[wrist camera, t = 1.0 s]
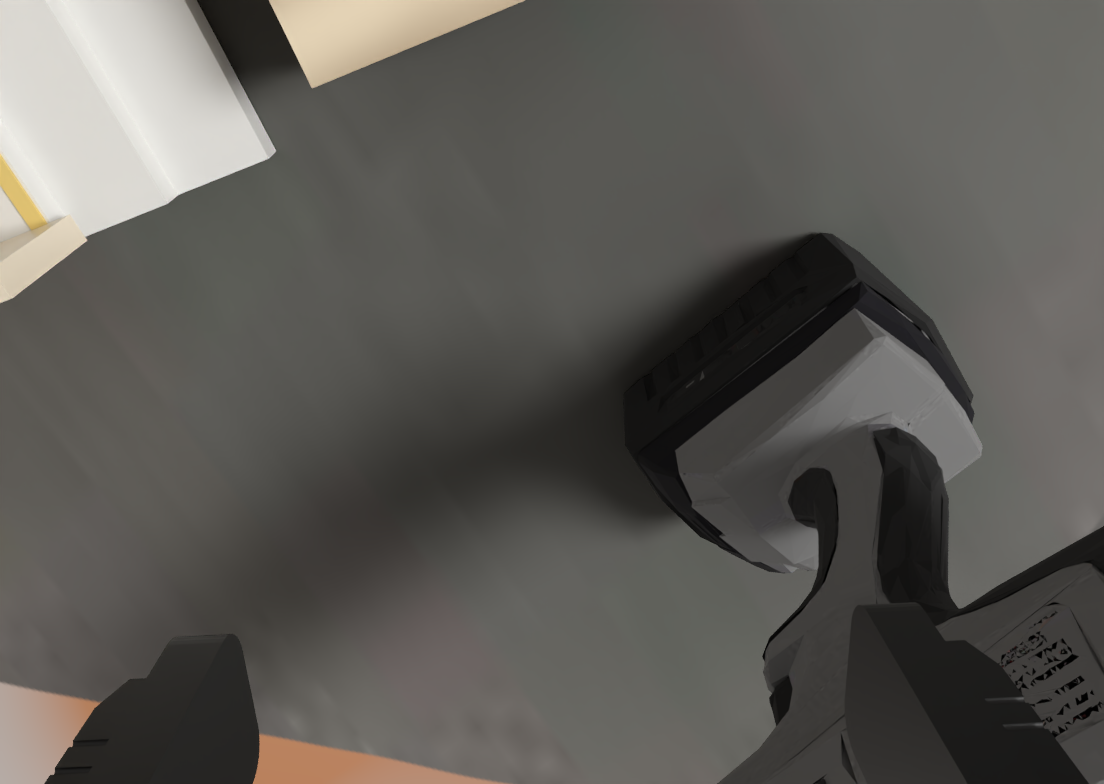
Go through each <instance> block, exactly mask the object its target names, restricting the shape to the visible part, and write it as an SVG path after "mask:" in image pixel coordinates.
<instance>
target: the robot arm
mask: <svg viewBox="0 0 1104 784" xmlns="http://www.w3.org/2000/svg"><path fill="white" fill-rule="evenodd" d="M844 705H845V720H846V727H847V732H848V737H849V741H850V744H851V747H852V750H853V753H854V755H855V758H856V760H857V762H858V764H859V766H860V769H861V771H862V773H863V775H864V778H865V780H866V782H867V784H1089V783H1088V781H1087V780H1086V779H1085V777H1084V776H1083V775H1082V773H1081V772H1080V771H1079V769H1078V768H1077V767H1076V765H1075V764H1074V763H1073V761H1072V760H1071V759H1070V757H1069V756H1068V755H1067V753H1066V752H1065V751H1064V749H1063V748H1062V747H1061V745H1060V744H1059V743H1058V741H1057V740H1056V739H1055V737H1054V736H1053V735H1052V733H1051V732H1050V731H1049V729H1044V726H1043V721H1042V720H1041V719H1040V717H1039V716H1038V715H1037V713H1036V712H1035V711H1034V709H1033V708H1032V707H1031V705H1030V704H1029V703H1025V701H1024V696H1023V695H1022V693H1021V692H1020V691H1019V689H1018V688H1017V686H1016V685H1015V684H1014V682H1013V681H1012V680H1011V678H1010V677H1009V676H1008V674H1007V673H1006V672H1005V670H1004V669H1003V668H1002V666H1001V665H999V664H998V663H997V662H995V661H994V660H992V659H991V658H989V657H988V656H987V655H985V654H984V653H982V652H981V651H980V650H978V649H977V648H975V647H974V646H973V645H971V644H970V643H968V642H967V641H965V640H955V641H945V640H944V638H943V637H942V635H941V634H940V633H939V631H938V630H937V628H936V627H935V625H934V624H933V622H932V621H931V619H930V618H929V616H928V615H927V614H926V612H925V611H924V609H923V608H922V607H921V606H920V605H919V604H918V603H916V602H909V603H889V604H869V605H857V606H856V607H855V609H854V611H853V614H852V620H851V631H850V642H849V654H848V666H847V677H846V689H845V703H844ZM258 758H259V729H258V723H257V719H256V714H255V709H254V704H253V699H252V694H251V690H250V685H249V680H248V675H247V670H246V666H245V661H244V656H243V651H242V647H241V644H240V641H239V639H238V638H237V637H236V636H235V635H233V634H227V635H206V636H186V637H175V638H173V639H172V640H171V641H170V642H169V643H168V645H167V646H166V648H165V649H164V651H163V653H162V654H161V656H160V657H159V659H158V661H157V662H156V664H155V666H154V667H153V669H152V670H151V672H150V674H149V675H148V677H147V678H145V679H130V680H128V681H127V682H126V683H125V684H124V685H122V686H121V687H120V688H119V689H117V690H116V691H115V692H114V693H113V694H111V695H110V696H109V697H108V698H107V699H105V700H104V701H103V702H102V703H100V704H99V705H98V706H97V707H96V708H95V709H94V710H93V712H92V713H91V715H90V716H89V718H88V719H87V721H86V722H85V724H84V725H83V727H82V728H81V730H80V731H79V733H78V734H77V736H76V737H75V739H74V740H73V747H69V748H68V749H67V751H66V752H65V754H64V755H63V757H62V758H61V760H60V761H59V763H58V764H57V766H56V767H55V774H54V775H50V776H49V778H48V779H47V781H46V782H45V784H253V781H254V778H255V774H256V770H257V765H258Z"/></svg>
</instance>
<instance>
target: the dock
mask: <svg viewBox="0 0 1104 784" xmlns="http://www.w3.org/2000/svg"><path fill="white" fill-rule="evenodd" d="M275 152H276V150H275V148H274V146H273V144H272V142H271V140H270V138H269V136H268V135H267V133H266V131H265V129H264V127H263V125H262V123H261V121H260V119H259V118H258V116H257V114H256V112H255V110H254V108H253V106H252V104H251V102H250V100H249V99H248V97H247V95H246V93H245V91H244V89H243V87H242V85H241V83H240V81H239V80H238V78H237V76H236V74H235V72H234V70H233V68H232V66H231V64H230V63H229V61H228V59H227V57H226V55H225V53H224V51H223V49H222V47H221V45H220V44H219V42H218V40H217V38H216V36H215V34H214V32H213V30H212V28H211V26H210V25H209V23H208V21H207V19H206V17H205V15H204V13H203V11H202V9H201V8H200V6H199V4H198V2H197V0H0V303H2V302H4V301H7V300H9V299H12V298H13V297H15V296H16V295H17V294H19V293H20V292H21V291H22V290H24V289H25V288H26V287H28V286H29V285H30V284H32V283H33V282H34V281H35V280H37V279H38V278H39V277H41V276H42V275H43V274H44V273H46V272H47V271H48V270H50V269H51V268H52V267H54V266H55V265H56V264H57V263H59V262H60V261H61V260H63V259H64V258H65V257H67V256H68V255H69V254H70V253H72V252H73V251H74V250H76V249H77V248H78V247H79V246H81V245H82V244H83V243H85V242H86V241H87V239H86V238H85V237H86V236H88V235H91V234H93V233H96V232H98V231H101V230H103V229H106V228H108V227H111V226H113V225H116V224H118V223H121V222H123V221H126V220H128V219H131V218H133V217H136V216H138V215H141V214H143V213H146V212H148V211H151V210H153V209H156V208H158V207H161V206H163V205H166V204H168V203H169V202H170V201H172V200H173V199H174V198H175V197H176V196H177V195H179V194H182V193H184V192H187V191H189V190H192V189H194V188H197V187H199V186H202V185H204V184H207V183H209V182H212V181H214V180H217V179H219V178H222V177H224V176H227V175H229V174H232V173H234V172H237V171H239V170H242V169H244V168H247V167H249V166H252V165H254V164H256V163H259V162H261V161H264V160H266V159H269V158H270V157H271V156H272V155H273V154H274V153H275Z"/></svg>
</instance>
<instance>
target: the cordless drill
mask: <svg viewBox="0 0 1104 784" xmlns="http://www.w3.org/2000/svg"><path fill="white" fill-rule="evenodd" d="M972 398H973V394H972V392H971V390H970V388H969V387H968V385H967V383H966V381H965V379H964V377H963V375H962V374H961V372H960V370H959V368H958V366H957V364H956V362H955V361H954V359H953V357H952V355H951V353H950V351H949V350H948V348H947V346H946V344H945V342H944V340H943V338H942V337H941V335H940V333H939V331H938V329H937V327H936V325H935V324H934V322H933V320H932V319H931V318H930V317H929V316H928V315H927V314H926V313H924V312H923V311H922V310H921V309H920V308H919V307H918V306H917V305H916V304H915V303H914V302H913V301H912V300H910V299H909V298H908V297H907V296H906V295H905V294H904V293H903V292H902V291H901V290H900V289H899V288H897V287H896V286H895V285H894V284H893V283H892V282H891V281H890V280H889V279H888V278H887V277H886V276H884V275H883V274H882V273H881V272H880V271H879V270H878V269H877V268H876V267H875V266H874V265H873V264H871V263H870V262H869V261H868V260H867V259H866V258H865V257H864V256H863V255H862V254H861V253H860V252H858V251H857V250H855V249H854V248H852V247H851V246H849V245H848V244H846V243H845V242H843V241H842V240H840V239H839V238H837V237H836V236H834V235H833V234H827V233H820V234H819V235H817V236H816V237H815V238H814V239H812V240H811V241H810V242H808V243H807V244H806V245H804V246H803V247H802V248H800V249H799V250H798V251H797V252H796V253H795V255H794V257H793V258H791V259H788V260H786V261H784V262H783V263H782V264H781V265H779V266H778V267H777V268H776V269H774V270H773V271H772V272H771V273H770V275H769V276H768V278H767V279H765V280H762V281H760V282H759V283H758V284H757V285H756V286H754V287H753V288H752V289H751V290H750V291H749V292H748V293H746V294H745V295H744V296H743V297H742V298H740V299H739V300H738V301H737V302H736V303H734V304H733V305H732V306H731V307H730V308H729V309H728V310H726V311H725V312H724V313H723V314H722V315H720V316H719V317H717V318H716V319H714V320H712V321H711V322H710V323H709V324H708V325H707V326H706V327H705V328H704V329H703V330H702V331H701V332H700V333H699V334H697V335H696V336H694V337H693V338H691V339H690V340H688V341H687V342H686V343H685V344H684V345H683V346H682V347H681V348H680V349H678V350H677V351H676V352H675V353H674V354H672V355H671V356H669V357H668V358H666V359H665V360H664V361H663V362H661V363H660V364H659V365H658V366H656V367H655V368H654V369H653V371H652V373H651V374H650V375H648V376H645V377H643V378H642V379H641V380H639V381H638V382H637V383H636V384H635V385H634V386H632V387H631V388H630V389H629V390H628V391H627V392H625V394H624V402H623V404H624V425H625V446H626V447H627V449H628V450H629V452H630V453H631V455H632V457H633V458H634V460H635V461H636V463H637V464H638V466H639V467H640V469H641V470H642V472H643V474H644V475H645V477H646V478H647V480H648V481H649V483H650V484H651V486H652V487H653V489H654V491H655V492H656V494H657V495H658V496H659V497H660V498H661V499H662V501H664V502H665V503H666V504H667V505H668V506H669V507H670V508H671V509H672V510H673V511H674V512H675V513H676V514H677V515H678V516H679V517H680V518H681V519H682V520H683V521H684V522H685V523H686V524H687V525H688V526H689V527H691V528H692V529H693V530H694V531H695V532H696V533H697V534H698V535H699V536H700V537H702V538H704V539H706V540H708V541H710V542H712V543H714V544H716V545H718V546H719V547H720V548H722V549H723V550H725V551H727V552H729V553H731V554H733V555H735V556H737V557H739V558H741V559H743V560H745V561H747V562H749V563H751V564H753V565H755V566H757V567H759V568H762V569H764V570H767V571H769V572H778V573H792V572H794V571H795V570H796V569H798V568H800V569H804V570H807V571H810V570H816V569H818V572H817V577H816V580H815V582H814V585H813V588H812V591H811V592H810V594H809V595H808V596H807V598H806V599H805V600H804V602H803V603H802V604H801V606H800V607H799V608H798V609H797V610H796V611H795V612H794V613H793V614H792V615H791V616H790V617H789V618H788V619H787V620H786V621H785V622H784V623H783V624H782V626H781V627H780V628H779V629H778V630H777V631H776V632H775V633H774V634H773V635H772V636H771V637H770V638H769V641H768V643H767V646H766V648H765V651H764V653H763V656H762V657H763V659H764V661H765V666H764V671H763V673H764V676H765V680H766V683H767V687H768V690H769V691H770V692H771V693H772V695H771V696H770V698H769V699H770V704H771V707H772V710H773V714H774V718H775V723H776V728H775V729H774V730H773V731H772V733H771V734H770V735H769V737H768V738H767V739H766V740H765V742H764V743H763V744H762V746H761V747H760V748H759V749H758V750H757V751H756V752H755V753H753V754H752V755H751V756H750V757H749V758H747V759H746V760H745V761H744V762H743V763H741V764H740V765H739V766H738V767H737V768H735V769H734V770H733V771H732V772H731V773H729V774H728V775H727V776H726V777H725V778H724V779H722V780H721V781H720V782H719V783H718V784H867V782H866V780H865V778H864V775H863V773H862V771H861V769H860V766H859V764H858V762H857V760H856V758H855V755H854V753H853V750H852V747H851V744H850V741H849V737H848V732H847V727H846V720H845V705H844V703H845V689H846V677H847V666H848V654H849V642H850V631H851V620H852V614H853V611H854V609H855V607H856V606H857V605H869V604H889V603H909V602H916V603H918V604H919V605H920V606H921V607H922V608H923V609H924V611H925V612H926V614H927V615H928V616H929V618H930V619H931V621H932V622H933V624H934V625H935V627H936V628H937V630H938V631H939V633H940V634H941V635H942V637H943V638H944V640H945V641H955V640H965V641H967V642H968V643H970V644H971V645H973V646H974V647H975V648H977V649H978V650H980V651H981V652H982V653H984V654H985V655H987V656H988V657H989V658H991V659H992V660H994V661H995V662H997V663H998V664H999V665H1001V666H1002V668H1003V669H1004V670H1005V672H1006V673H1007V674H1008V676H1009V677H1010V678H1011V680H1012V681H1013V682H1014V684H1015V685H1016V686H1017V688H1018V689H1019V691H1020V692H1021V693H1022V695H1023V696H1024V701H1025V703H1029V704H1030V705H1031V707H1032V708H1033V709H1034V711H1035V712H1036V713H1037V715H1038V716H1039V717H1040V719H1041V720H1042V721H1043V726H1044V729H1049V731H1050V732H1051V733H1052V735H1053V736H1054V737H1055V739H1056V740H1057V741H1058V743H1059V744H1060V745H1061V747H1062V748H1063V749H1064V751H1065V752H1066V753H1067V755H1068V756H1069V757H1070V759H1071V760H1072V761H1073V763H1074V764H1075V765H1076V767H1077V768H1078V769H1079V771H1080V772H1081V773H1082V775H1083V776H1084V777H1085V779H1086V780H1087V781H1088V783H1089V784H1104V526H1103V527H1102V528H1100V529H1098V530H1096V531H1094V532H1093V533H1091V534H1089V535H1087V536H1085V537H1084V538H1082V539H1080V540H1078V541H1077V542H1075V543H1073V544H1071V545H1069V546H1068V547H1066V548H1064V549H1062V550H1061V551H1059V552H1057V553H1055V554H1054V555H1052V556H1050V557H1048V558H1046V559H1045V560H1043V561H1041V562H1039V563H1038V564H1036V565H1034V566H1032V567H1030V568H1029V569H1027V570H1025V571H1023V572H1022V573H1020V574H1018V575H1016V576H1014V577H1013V578H1011V579H1009V580H1007V581H1006V582H1004V583H1002V584H1000V585H999V586H997V587H995V588H994V589H992V590H991V591H989V592H988V593H986V594H985V595H983V596H982V597H980V598H979V599H977V600H975V601H974V602H972V603H971V604H969V605H967V606H966V607H964V608H961V609H958V607H957V606H956V605H955V603H954V602H953V600H952V599H951V597H950V594H949V588H948V522H949V510H948V504H949V498H948V495H947V492H946V488H945V484H944V483H946V482H947V481H948V480H950V479H951V478H952V477H954V476H955V475H956V474H958V473H959V472H960V471H962V470H963V469H965V468H966V467H967V466H969V465H970V464H971V463H973V462H974V461H975V460H977V459H978V458H979V457H981V453H982V448H983V446H982V444H981V442H980V440H979V438H978V436H977V434H976V432H975V430H974V428H973V426H972V421H973V417H974V411H973V409H972V407H971V402H972Z"/></svg>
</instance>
